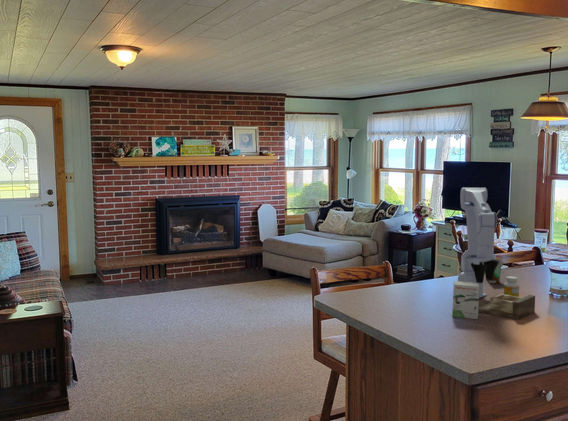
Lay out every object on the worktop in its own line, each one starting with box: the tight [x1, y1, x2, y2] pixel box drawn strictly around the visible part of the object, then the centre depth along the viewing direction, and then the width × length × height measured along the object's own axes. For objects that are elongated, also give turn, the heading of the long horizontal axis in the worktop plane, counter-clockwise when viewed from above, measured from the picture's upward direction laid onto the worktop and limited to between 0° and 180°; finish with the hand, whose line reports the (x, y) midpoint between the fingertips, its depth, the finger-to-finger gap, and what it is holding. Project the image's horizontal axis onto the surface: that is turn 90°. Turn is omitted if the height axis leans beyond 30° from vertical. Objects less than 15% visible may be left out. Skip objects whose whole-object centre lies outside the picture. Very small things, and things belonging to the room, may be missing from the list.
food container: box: [485, 259, 504, 285], centre depth 246 cm, size 12×6×10 cm, turn 168°
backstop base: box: [478, 294, 536, 321], centre depth 200 cm, size 19×14×6 cm
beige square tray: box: [489, 293, 522, 314], centre depth 198 cm, size 9×9×4 cm
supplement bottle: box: [503, 275, 520, 297], centre depth 212 cm, size 5×5×10 cm
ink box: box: [451, 280, 480, 320], centre depth 192 cm, size 9×5×12 cm, turn 73°
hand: (484, 281), depth 203 cm, fingers open, 7 cm apart
